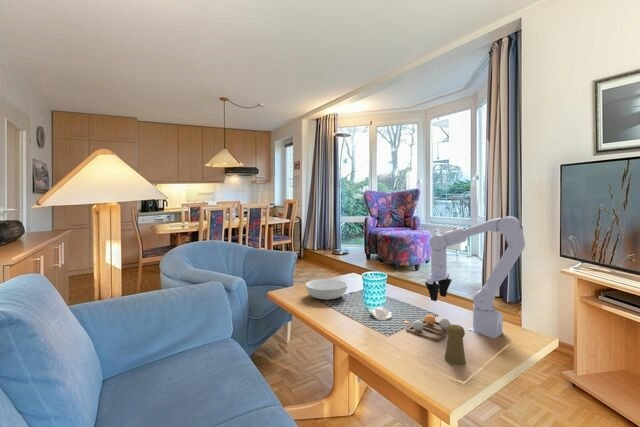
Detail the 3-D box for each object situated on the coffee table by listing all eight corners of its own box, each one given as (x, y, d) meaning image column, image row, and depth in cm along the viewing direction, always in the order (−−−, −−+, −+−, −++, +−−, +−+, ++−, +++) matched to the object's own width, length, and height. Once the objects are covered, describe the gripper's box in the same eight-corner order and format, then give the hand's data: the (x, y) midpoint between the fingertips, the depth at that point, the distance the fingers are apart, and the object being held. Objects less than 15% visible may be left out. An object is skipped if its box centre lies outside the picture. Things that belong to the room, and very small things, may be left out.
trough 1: (445, 337, 115) (446, 334, 115) (437, 343, 111) (437, 339, 111) (415, 327, 124) (415, 324, 124) (406, 331, 120) (406, 328, 120)
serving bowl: (354, 295, 166) (354, 281, 165) (334, 307, 148) (334, 292, 148) (320, 289, 177) (320, 276, 176) (297, 299, 159) (297, 285, 159)
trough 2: (457, 330, 121) (457, 327, 120) (449, 335, 116) (449, 332, 116) (426, 321, 130) (426, 318, 130) (418, 325, 126) (418, 322, 126)
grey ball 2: (452, 329, 121) (452, 319, 120) (447, 332, 118) (447, 322, 118) (442, 326, 124) (442, 316, 123) (437, 329, 121) (437, 319, 121)
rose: (364, 307, 134) (375, 301, 142) (364, 318, 135) (375, 311, 142) (387, 312, 128) (396, 306, 136) (386, 323, 129) (396, 316, 136)
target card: (423, 325, 126) (423, 324, 126) (416, 329, 122) (416, 328, 122) (405, 319, 132) (405, 318, 132) (398, 323, 128) (398, 322, 128)
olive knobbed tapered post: (440, 356, 101) (441, 322, 101) (459, 355, 102) (459, 321, 101) (450, 366, 95) (450, 330, 95) (469, 365, 96) (470, 329, 95)
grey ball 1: (426, 331, 120) (426, 320, 119) (420, 334, 117) (420, 323, 117) (416, 328, 123) (416, 317, 122) (410, 330, 120) (410, 320, 120)
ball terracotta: (437, 325, 125) (437, 315, 125) (431, 327, 123) (432, 317, 122) (428, 322, 128) (428, 312, 128) (422, 324, 126) (422, 314, 125)
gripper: (438, 260, 136) (437, 292, 137) (420, 266, 126) (420, 300, 127) (454, 263, 131) (454, 296, 132) (437, 268, 121) (436, 304, 122)
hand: (438, 298), depth 129 cm, fingers open, 7 cm apart
